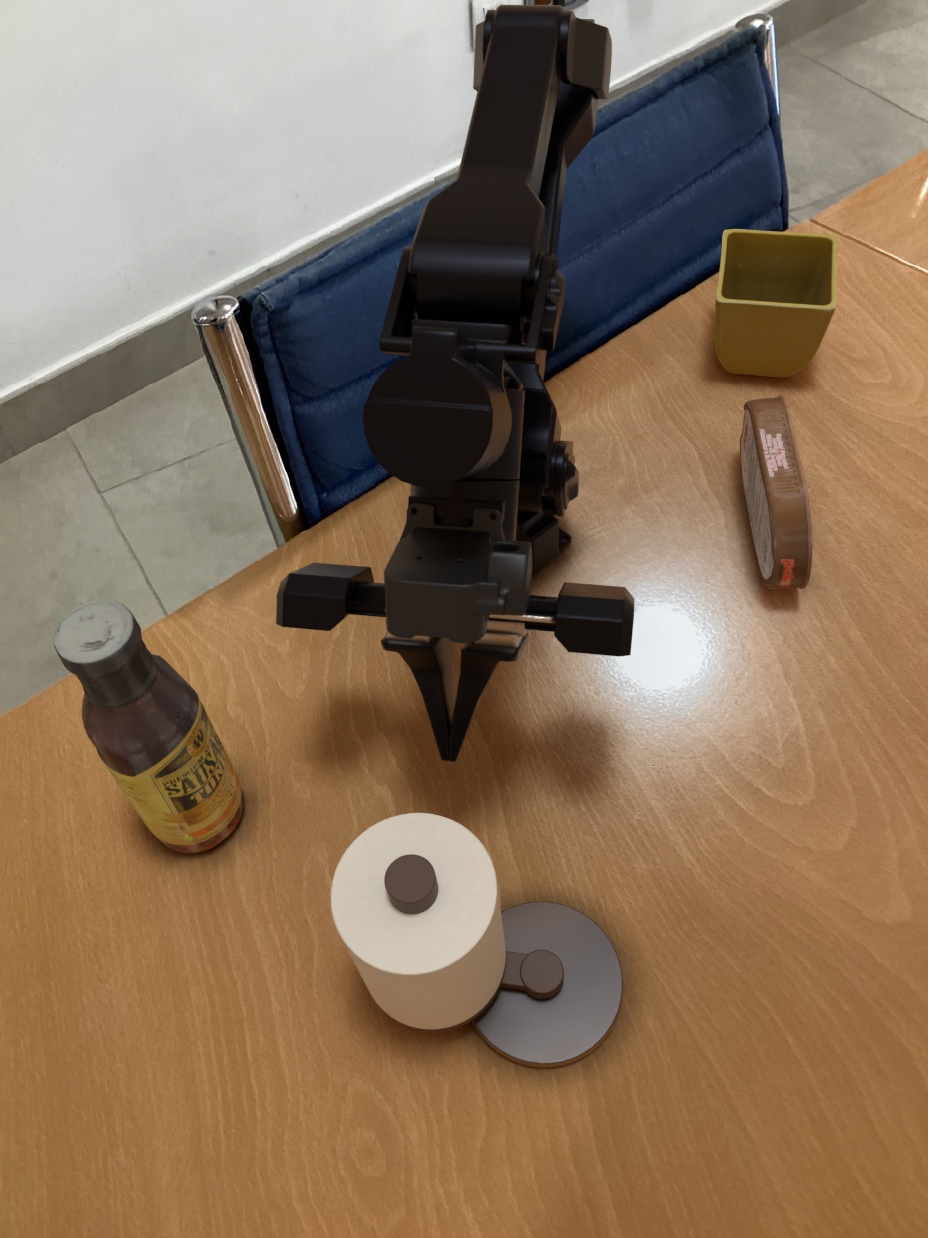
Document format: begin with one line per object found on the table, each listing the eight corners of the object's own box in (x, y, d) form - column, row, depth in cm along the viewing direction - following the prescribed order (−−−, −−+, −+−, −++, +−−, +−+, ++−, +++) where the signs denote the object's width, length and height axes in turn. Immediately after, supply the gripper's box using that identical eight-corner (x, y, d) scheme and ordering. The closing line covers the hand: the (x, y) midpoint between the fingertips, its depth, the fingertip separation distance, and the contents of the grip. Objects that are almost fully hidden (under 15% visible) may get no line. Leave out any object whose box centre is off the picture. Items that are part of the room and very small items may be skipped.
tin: (802, 612, 73) (828, 535, 66) (756, 614, 73) (776, 537, 66) (769, 453, 82) (789, 369, 75) (728, 454, 82) (744, 372, 75)
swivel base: (431, 979, 61) (429, 974, 60) (544, 876, 64) (544, 870, 63) (539, 1105, 57) (539, 1101, 56) (656, 989, 60) (657, 984, 59)
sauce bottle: (222, 869, 65) (111, 709, 49) (134, 842, 67) (-2, 677, 51) (266, 777, 69) (175, 598, 53) (181, 753, 70) (68, 572, 54)
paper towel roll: (338, 959, 60) (290, 874, 50) (457, 856, 63) (436, 755, 53) (449, 1096, 56) (424, 1035, 45) (572, 978, 59) (575, 895, 48)
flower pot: (813, 399, 85) (837, 308, 77) (702, 389, 86) (715, 299, 79) (815, 326, 89) (838, 233, 82) (709, 318, 91) (723, 227, 84)
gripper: (240, 472, 49) (235, 790, 52) (645, 499, 47) (616, 833, 50) (311, 463, 60) (304, 727, 63) (644, 484, 57) (620, 759, 60)
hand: (449, 759), depth 59 cm, fingers closed
